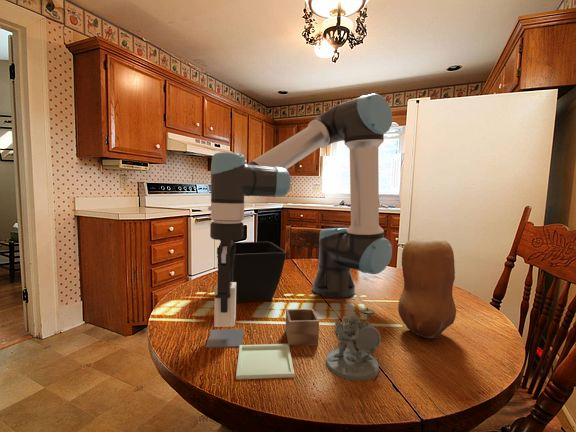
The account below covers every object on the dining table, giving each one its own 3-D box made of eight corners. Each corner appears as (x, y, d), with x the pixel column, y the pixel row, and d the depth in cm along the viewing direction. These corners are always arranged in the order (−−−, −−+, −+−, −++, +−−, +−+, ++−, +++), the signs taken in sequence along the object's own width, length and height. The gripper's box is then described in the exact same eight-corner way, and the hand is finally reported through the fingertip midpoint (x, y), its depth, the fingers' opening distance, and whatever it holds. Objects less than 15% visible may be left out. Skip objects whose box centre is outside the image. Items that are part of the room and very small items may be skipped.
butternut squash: (399, 319, 84) (404, 232, 82) (452, 329, 78) (459, 237, 76) (394, 340, 72) (400, 239, 70) (457, 355, 66) (465, 245, 64)
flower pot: (285, 302, 94) (287, 251, 93) (226, 309, 88) (227, 253, 87) (269, 284, 112) (270, 241, 111) (218, 289, 106) (219, 242, 104)
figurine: (321, 352, 66) (323, 300, 65) (368, 351, 66) (370, 300, 66) (332, 383, 55) (335, 321, 54) (388, 381, 56) (391, 320, 55)
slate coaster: (243, 331, 74) (243, 329, 74) (241, 348, 66) (242, 345, 66) (211, 332, 73) (211, 329, 73) (205, 349, 65) (205, 346, 65)
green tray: (288, 348, 67) (288, 343, 67) (294, 378, 56) (294, 373, 56) (239, 349, 66) (239, 345, 66) (235, 380, 55) (236, 375, 55)
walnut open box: (312, 331, 75) (313, 309, 75) (318, 346, 68) (319, 321, 68) (285, 332, 74) (286, 309, 74) (288, 346, 67) (288, 321, 67)
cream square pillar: (235, 318, 72) (236, 281, 71) (234, 326, 67) (234, 287, 67) (216, 318, 71) (217, 281, 71) (213, 326, 67) (214, 287, 66)
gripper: (216, 217, 76) (214, 305, 78) (203, 225, 58) (202, 338, 60) (245, 218, 77) (243, 305, 79) (241, 226, 59) (239, 337, 61)
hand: (225, 319), depth 69 cm, fingers closed on cream square pillar, 5 cm apart
